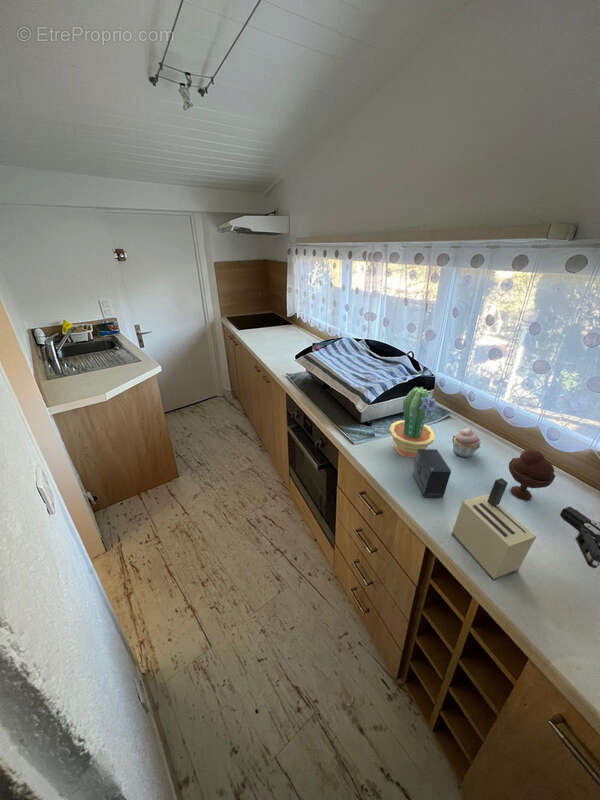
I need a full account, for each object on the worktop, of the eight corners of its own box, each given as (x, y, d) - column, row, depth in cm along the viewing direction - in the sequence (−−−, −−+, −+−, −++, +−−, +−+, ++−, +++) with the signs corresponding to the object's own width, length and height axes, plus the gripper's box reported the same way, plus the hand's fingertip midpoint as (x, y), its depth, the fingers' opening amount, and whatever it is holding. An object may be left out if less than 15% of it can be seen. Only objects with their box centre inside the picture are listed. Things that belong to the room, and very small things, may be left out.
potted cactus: (389, 461, 106) (399, 398, 94) (384, 435, 120) (393, 377, 108) (435, 465, 104) (452, 400, 92) (425, 438, 118) (439, 379, 106)
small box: (445, 498, 91) (453, 471, 86) (423, 498, 91) (430, 471, 86) (431, 473, 100) (437, 448, 95) (411, 474, 100) (417, 448, 95)
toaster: (474, 526, 82) (486, 493, 76) (518, 570, 71) (536, 536, 65) (451, 534, 80) (462, 500, 74) (493, 580, 69) (509, 546, 63)
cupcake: (480, 462, 105) (488, 438, 100) (451, 458, 107) (457, 434, 102) (474, 446, 113) (481, 423, 108) (447, 442, 115) (453, 420, 110)
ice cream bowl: (494, 493, 92) (510, 453, 85) (507, 475, 99) (523, 438, 92) (535, 513, 85) (556, 472, 78) (546, 493, 92) (567, 454, 85)
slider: (493, 499, 74) (502, 477, 71) (499, 504, 73) (508, 482, 70) (487, 501, 74) (495, 479, 70) (492, 506, 72) (501, 484, 69)
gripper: (732, 571, 44) (596, 487, 58) (674, 602, 40) (545, 505, 55) (700, 601, 47) (580, 515, 62) (644, 631, 44) (531, 533, 58)
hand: (564, 510), depth 58 cm, fingers closed
